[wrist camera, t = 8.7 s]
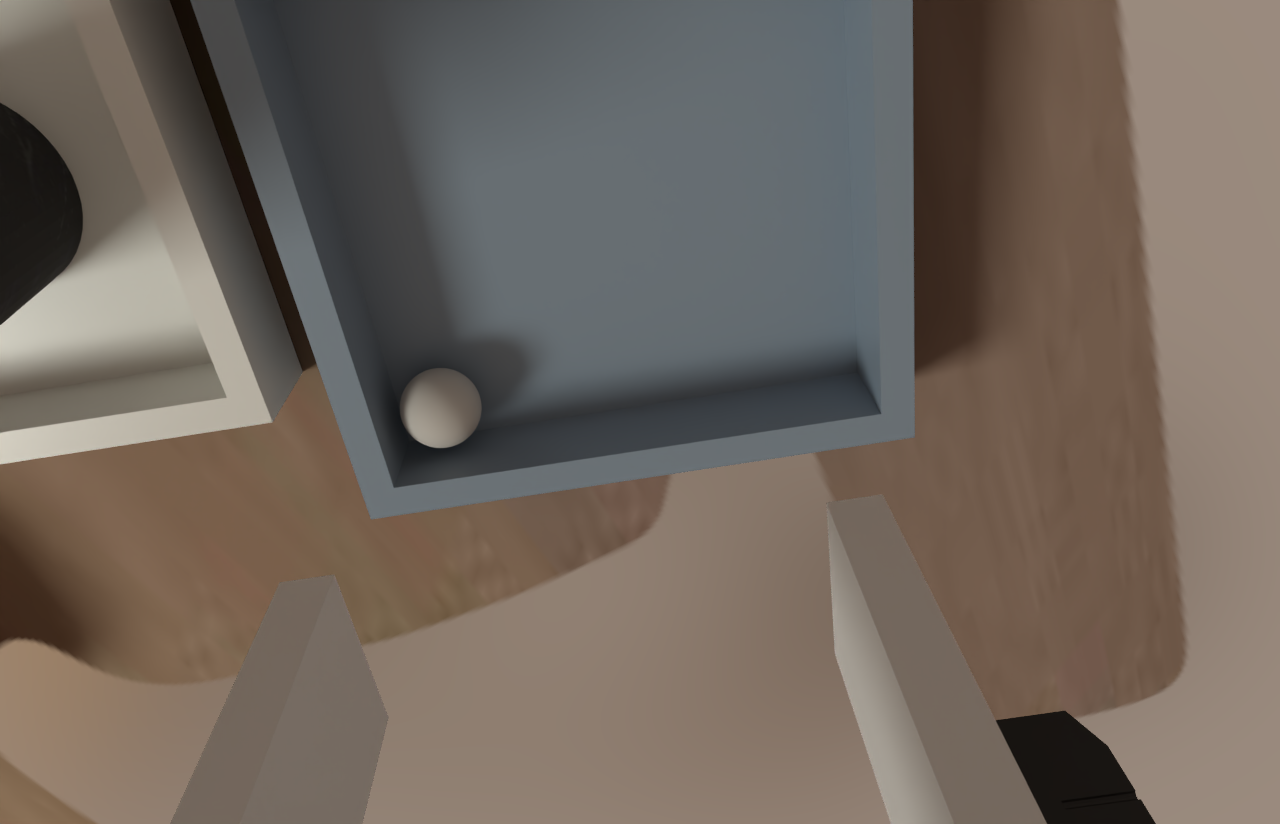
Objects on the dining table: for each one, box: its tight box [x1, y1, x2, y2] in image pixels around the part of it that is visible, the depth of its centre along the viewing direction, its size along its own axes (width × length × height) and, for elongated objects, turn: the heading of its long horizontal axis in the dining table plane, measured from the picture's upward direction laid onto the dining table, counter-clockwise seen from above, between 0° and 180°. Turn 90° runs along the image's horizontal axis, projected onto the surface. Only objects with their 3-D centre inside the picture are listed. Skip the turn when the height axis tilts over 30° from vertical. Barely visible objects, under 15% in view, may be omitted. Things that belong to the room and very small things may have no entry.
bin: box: [190, 0, 915, 519], centre depth 32 cm, size 20×20×4 cm
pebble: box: [400, 368, 482, 448], centre depth 35 cm, size 3×3×3 cm
